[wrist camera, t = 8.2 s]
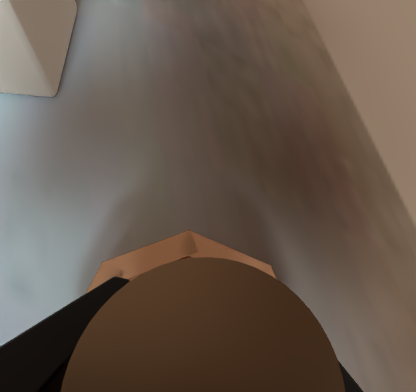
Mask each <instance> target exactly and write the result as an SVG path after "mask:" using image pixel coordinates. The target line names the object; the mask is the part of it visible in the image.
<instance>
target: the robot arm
mask: <svg viewBox="0 0 416 392" xmlns="http://www.w3.org/2000/svg"><path fill="white" fill-rule="evenodd" d="M128 282H130V280H129V279H125V278H121V277H117V276H114V277H112V278H110V279H109V280H107V281H105V282H104V283H102V284H101V285H99V286H97V287H96V288H94V289H93V290H91V291H89V292H88V293H86V294H84V295H83V296H81V297H80V298H78V299H76V300H75V301H73V302H72V303H70V304H68V305H67V306H65V307H63V308H62V309H60V310H59V311H57V312H55V313H54V314H52V315H51V316H49V317H47V318H46V319H44V320H42V321H41V322H39V323H38V324H36V325H34V326H33V327H31V328H30V329H28V330H26V331H25V332H23V333H21V334H20V335H18V336H17V337H15V338H13V339H12V340H10V341H9V342H7V343H5V344H4V345H2V346H0V392H61V388H62V383H63V379H64V376H65V373H66V370H67V367H68V363H69V360H70V358H71V356H72V354H73V351H74V349H75V347H76V345H77V343H78V341H79V339H80V337H81V335H82V334H83V332H84V330H85V329H86V327H87V325H88V324H89V322H90V321H91V320H92V318H93V317H94V316H95V315H96V313H97V312H98V311H99V309H100V308H101V307H102V306H103V305H104V304H105V303H106V302H107V301H108V300H109V299H110V298H111V297H112V296H113V295H114V294H115V293H116V292H117V291H118V290H120V289H121V288H122V287H123V286H125V285H126V284H127V283H128ZM338 363H339V367H340V370H341V373H342V377H343V381H344V387H345V392H363V391H362V389H361V388H360V387H359V386H358V384H357V383H356V382H355V381H354V379H353V378H352V377H351V376H350V374H349V373H348V372H347V371H346V370H345V368H344V367H343V366H342V365H341V363H340V362H339V361H338Z"/></svg>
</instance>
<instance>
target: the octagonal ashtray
mask: <svg viewBox="0 0 416 392" xmlns="http://www.w3.org/2000/svg"><path fill="white" fill-rule="evenodd" d="M199 257H213V258H224V259H229V260H233V261H238V262H242V263H244V264H247V265H250V266H253V267H255V268H258V269H260V270H261V271H263V272H265V273H267V274H269V275H271V276H273V277H274V278H276V277H275V274H274V272H273V270H272V268H271V266H270V265H268V264H266V263H263V262H261V261H259V260H256V259H254V258H252V257H250V256H247V255H245V254H243V253H240V252H238V251H236V250H233V249H231V248H229V247H226V246H224V245H222V244H220V243H217V242H215V241H213V240H210V239H208V238H206V237H203V236H201V235H199V234H196V233H194V232H192V231H190V230H188V231H186V232H183V233H180V234H177V235H175V236H172V237H169V238H167V239H164V240H161V241H159V242H156V243H153V244H150V245H148V246H145V247H142V248H140V249H137V250H134V251H131V252H129V253H126V254H123V255H121V256H118V257H115V258H113V259H110V260H107V261H104V262H102V264H101V266H100V268H99V270H98V272H97V274H96V275H95V277H94V279H93V281H92V283H91V285H90V287H89V288H88V290H87V292H86V293H88V292H89V291H91V290H93V289H94V288H96V287H97V286H99V285H101V284H102V283H104V282H105V281H107V280H109V279H110V278H112V277H114V276H117V277H121V278H125V279H129V280H130V281H132V280H133V279H135V278H136V277H138V276H140V275H141V274H143V273H145V272H147V271H149V270H151V269H153V268H156V267H158V266H160V265H163V264H167V263H170V262H173V261H177V260H182V259H188V258H199Z"/></svg>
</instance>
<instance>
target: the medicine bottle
mask: <svg viewBox="0 0 416 392" xmlns="http://www.w3.org/2000/svg"><path fill="white" fill-rule="evenodd" d="M76 14H77V6H76V2H75V0H0V93H11V94H22V95H33V96H44V97H53V96H55V95H56V94H57V91H58V87H59V83H60V78H61V74H62V70H63V66H64V62H65V58H66V54H67V50H68V46H69V42H70V38H71V34H72V30H73V26H74V22H75V18H76Z"/></svg>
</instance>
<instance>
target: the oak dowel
mask: <svg viewBox="0 0 416 392" xmlns="http://www.w3.org/2000/svg"><path fill="white" fill-rule="evenodd" d="M61 392H345V387H344V381H343V377H342V373H341V370H340V367H339V363H338V360H337V357H336V355H335V353H334V350H333V348H332V345H331V343H330V341H329V339H328V337H327V335H326V333H325V332H324V330H323V328H322V326H321V324H320V323H319V322H318V320H317V319H316V317H315V316H314V315H313V313H312V312H311V310H310V309H309V308H308V307H307V306H306V305H305V304H304V302H303V301H302V300H301V299H300V298H299V297H298V296H297V295H296V294H295V293H294V292H292V291H291V290H290V289H289V288H288V287H287V286H286V285H284V284H283V283H281V282H280V281H278V280H277V279H276V278H274V277H273V276H271V275H269V274H267V273H265V272H263V271H261V270H260V269H258V268H255V267H253V266H250V265H247V264H244V263H242V262H238V261H233V260H229V259H224V258H213V257H199V258H188V259H182V260H177V261H173V262H170V263H167V264H163V265H160V266H158V267H156V268H153V269H151V270H149V271H147V272H145V273H143V274H141V275H140V276H138V277H136V278H135V279H133V280H132V281H130V282H128V283H127V284H126V285H125V286H123V287H122V288H121V289H120V290H118V291H117V292H116V293H115V294H114V295H113V296H112V297H111V298H110V299H109V300H108V301H107V302H106V303H105V304H104V305H103V306H102V307H101V308H100V309H99V311H98V312H97V313H96V315H95V316H94V317H93V318H92V320H91V321H90V322H89V324H88V325H87V327H86V329H85V330H84V332H83V334H82V335H81V337H80V339H79V341H78V343H77V345H76V347H75V349H74V351H73V354H72V356H71V358H70V360H69V363H68V367H67V370H66V373H65V376H64V379H63V383H62V388H61Z"/></svg>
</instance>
